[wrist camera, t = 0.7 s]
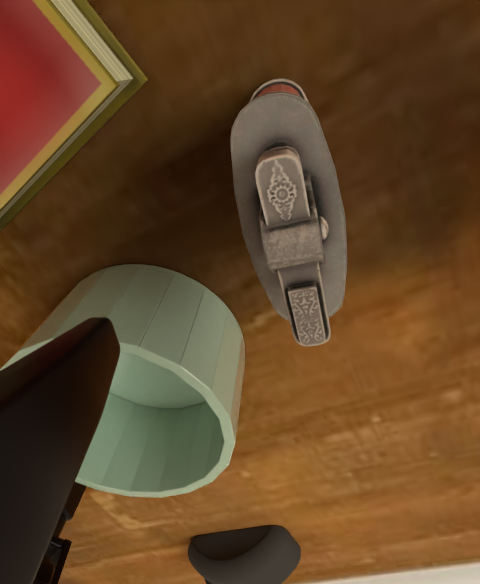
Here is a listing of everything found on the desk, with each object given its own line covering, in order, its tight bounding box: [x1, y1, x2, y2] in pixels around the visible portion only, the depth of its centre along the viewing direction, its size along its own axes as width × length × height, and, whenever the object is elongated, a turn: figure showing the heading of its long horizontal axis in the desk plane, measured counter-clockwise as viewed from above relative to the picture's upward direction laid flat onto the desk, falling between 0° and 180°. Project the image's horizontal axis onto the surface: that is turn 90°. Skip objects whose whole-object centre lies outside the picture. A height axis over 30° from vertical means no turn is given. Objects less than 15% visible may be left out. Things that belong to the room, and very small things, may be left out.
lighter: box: [230, 78, 347, 346], centre depth 14 cm, size 8×3×10 cm, turn 15°
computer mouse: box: [188, 525, 301, 584], centre depth 38 cm, size 6×11×4 cm, turn 116°
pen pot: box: [0, 264, 245, 497], centre depth 23 cm, size 13×13×7 cm
